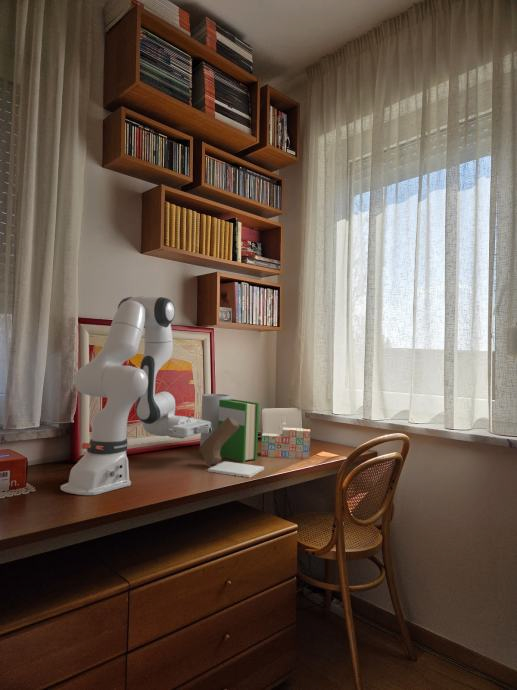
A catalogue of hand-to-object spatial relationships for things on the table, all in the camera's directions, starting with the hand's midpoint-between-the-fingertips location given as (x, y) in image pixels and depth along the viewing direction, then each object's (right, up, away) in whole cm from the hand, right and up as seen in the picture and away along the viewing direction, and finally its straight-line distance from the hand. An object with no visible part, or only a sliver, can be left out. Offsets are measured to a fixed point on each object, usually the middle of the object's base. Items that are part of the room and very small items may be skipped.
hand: (210, 430), depth 179 cm
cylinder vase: (-2, -15, +32) cm, 35 cm away
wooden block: (-2, -11, 0) cm, 11 cm away
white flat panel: (+11, -14, -5) cm, 18 cm away
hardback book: (+10, -15, +17) cm, 25 cm away
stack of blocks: (+31, -16, +23) cm, 42 cm away
